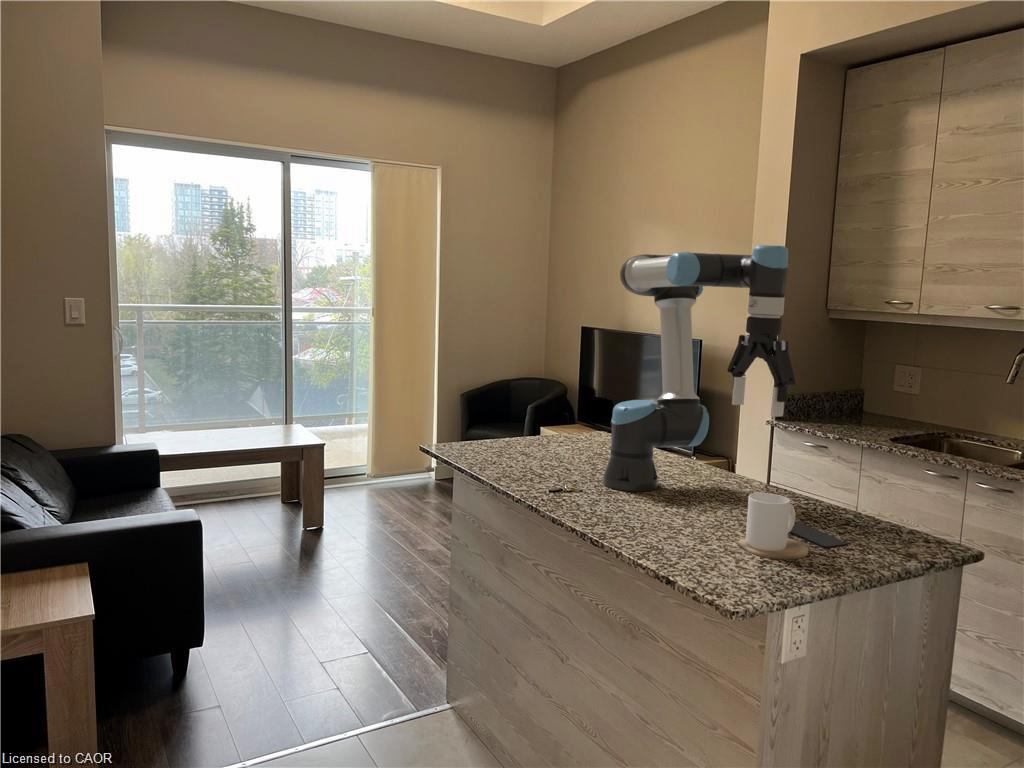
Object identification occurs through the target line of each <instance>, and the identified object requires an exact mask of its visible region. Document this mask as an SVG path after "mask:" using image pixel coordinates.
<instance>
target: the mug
mask: <svg viewBox="0 0 1024 768" xmlns="http://www.w3.org/2000/svg"><path fill="white" fill-rule="evenodd" d="M746 515H747V517H746V530H745V536H746V542H747V544H748V545H749V546H751V547H753V548H755V549H758V550H763V551H781V550H783V549H785V548H786V545H787V538H788V536H789V535H788V534H789V532H790V531H791V530H792V528H793V526H794V523H796V511H795V508H794V506H793V504H791V500H790V498H788V497H786V496H785V495H780V494H776V493H769V492H756V493H750V494H749V495H748V502H747V514H746Z"/></svg>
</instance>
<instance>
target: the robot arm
mask: <svg viewBox="0 0 1024 768" xmlns="http://www.w3.org/2000/svg"><path fill="white" fill-rule="evenodd" d="M788 261H789V250H788V247H786V246H783V245H770V244H769V245H768V244H767V245H766V244H765V245H764V244H763V245H762V244H760V245H758V244H757V245H755V246H754V247H753V249H752V253H751V254H730V253H706V252H705V253H702V252H691V251H683V252H674V253H672V254H667V255H666V254H663V255H662V254H646V253H645V254H638V255H634V256H632V257H629V258H628V259H626V260H625V262H624V263H622V266H621V268H620V272H619V277H620V279H619V280H620V281H621V284H622V286H623V287H624V288H625V290H627V291H628V292H630V293H632V294H635V295H638V296H642V297H653V298H654V299H653V300H654V305H655V306H656V307H657V308H658V309H659V312H660V314H659V316H660V318H659V319H660V346H661V348H660V349H661V378H662V379H661V380H662V381H661V382H662V393H661V394H660V396H659V397H658V398H657V401H654V400H650V399H632V400H626V401H621V402H619V403H617V404H616V405H614V407H613V409H612V416H611V421H610V422H611V432H610V433H611V435H610V436H611V437H610V440H611V441H610V456H609V459H608V462H607V464H606V467H605V470H604V473H603V475H602V477H603V478H602V484H603V485H604V486H606V487H607V488H611V489H615V490H617V491H618V490H620V491H627V492H646V491H647V492H648V491H653V490H655V489H657V488H658V487H659V478H658V474H657V473H658V472H657V470H656V469H657V468H656V466H655V465H656V464H655V462H654V455H653V454H654V449H655V448H688V447H697V446H698V445H701V443H702V442H703V441H704V440H705V439H706V436H707V434H708V431H709V426H710V415H709V412H708V409H707V407H705V405H703V404H701V403H700V402H701V399H700V397H699V396H698V395H697V394H696V393H695V391H694V389H695V387H694V362H693V361H694V360H693V358H694V355H693V354H694V353H693V330H692V329H693V326H692V308H693V306H695V304H696V303H697V298H698V297H700V296H701V295H702V293H703V290H704V287H713V288H714V287H717V288H740V289H743V288H744V289H745V288H746V289H748V291H749V293H748V306H747V313H748V314H749V315H750V316H749V315H748V317H746V323H745V326H746V327H745V332H746V333H747V334H739V337H738V340H737V341H738V342H737V344H736V348H735V349H734V353H733V355H732V358H731V360H730V362H729V364H728V367H727V372H728V373H730V374H731V376H732V377H733V379H732V400H731V405H733V406H739V405H740V406H741V405H744V404H745V393H746V380H747V379H746V378H747V377H746V376H747V375H746V374H745V373H746V372H747V371H748V369H749V368H750V366H752V364H753V362H754V361H756V359H757V358H759V359H763V362H766V364H767V367H768V369H769V371H770V374H771V376H772V378H773V380H774V383H775V385H774V386H772V387H773V388H772V397H771V407H770V417H772V418H773V417H775V418H776V417H784V410H785V409H784V408H785V403H786V401H787V392H788V388H789V387H791V386H796V379H795V375H794V370H793V367H792V362H791V359H790V358H791V357H790V353H789V341H788V340H778V336H779V335H781V334H782V331H783V319H782V317H781V316H783V315H784V311H785V299H786V298H785V297H786V296H785V294H786V289H787V288H786V287H787V279H788V268H789V262H788ZM656 402H657V404H656Z"/></svg>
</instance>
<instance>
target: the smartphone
mask: <svg viewBox="0 0 1024 768" xmlns="http://www.w3.org/2000/svg"><path fill="white" fill-rule="evenodd" d="M788 534H790V535H792V536H793V537H794V536H795V538H796V537H797V538H799V539H801V540H804V541H806V542H808V543H810V544H813V545H815V546H817V547H820V548H823V549H834V548H839V547H840V548H841V547H847V546H849V543H848V542H847V541H844V540H843V539H842V540H841V539H839V538H837V537H835V536H832V535H830V534H828V533H825V532H823V531H821V530H819V529H816V528H814V527H811V526H809V525H807V524H804V523H802V522H795V523H794V526H793V528H792V530H791V531H790V532H789V533H788Z"/></svg>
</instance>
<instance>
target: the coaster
mask: <svg viewBox="0 0 1024 768" xmlns="http://www.w3.org/2000/svg"><path fill="white" fill-rule="evenodd" d="M738 546H739V547H740V549H742V550H744V551H745V552H747V553H749V554H752V555H756V556H759V557H763V558H767V559H772V560H780V561H781V560H783V561H786V560H787V561H789V560H790V561H792V560H793V561H794V560H798V559H799V560H801V559H803V558H806V557H807V556H808V555H809V548H808V546H806V545H805V544H804V543H803V542H800V541H797V540H795V539H792V538H790V537H787V545H786V548H785V549H783V550H781V551H763V550H758V549H755V548H753V547H751V546H749V545H748V544H747V542H746V535H744V536H741V537H740V538H738Z"/></svg>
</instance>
